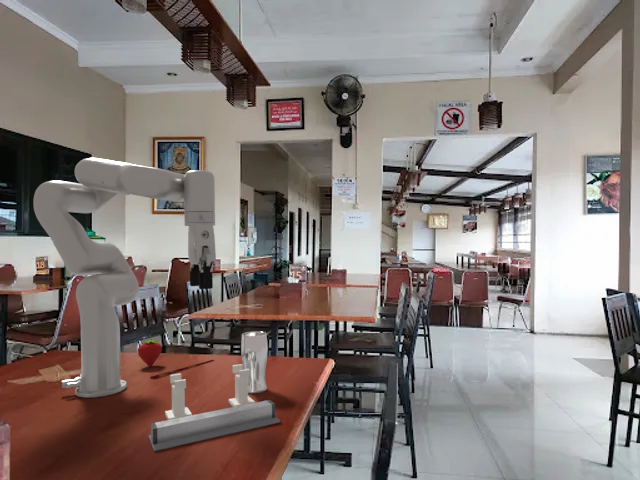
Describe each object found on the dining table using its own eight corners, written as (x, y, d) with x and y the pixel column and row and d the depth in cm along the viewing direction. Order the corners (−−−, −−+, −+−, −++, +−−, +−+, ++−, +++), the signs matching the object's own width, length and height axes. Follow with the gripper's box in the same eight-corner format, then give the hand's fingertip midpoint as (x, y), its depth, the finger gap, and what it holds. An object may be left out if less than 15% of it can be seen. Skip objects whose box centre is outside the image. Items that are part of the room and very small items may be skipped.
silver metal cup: (263, 394, 114) (262, 336, 114) (237, 393, 115) (236, 336, 115) (271, 386, 121) (270, 331, 121) (247, 385, 122) (246, 330, 122)
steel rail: (153, 444, 85) (153, 428, 85) (150, 438, 88) (150, 423, 88) (275, 417, 98) (275, 403, 98) (270, 412, 100) (269, 399, 100)
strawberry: (135, 366, 143) (134, 335, 144) (158, 362, 148) (157, 332, 148) (141, 370, 139) (140, 338, 139) (164, 365, 144) (164, 335, 144)
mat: (153, 451, 83) (153, 449, 83) (148, 437, 89) (148, 435, 89) (280, 422, 96) (280, 420, 96) (268, 411, 102) (268, 410, 102)
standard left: (169, 422, 97) (168, 382, 97) (164, 413, 102) (164, 375, 102) (192, 418, 99) (191, 378, 99) (186, 409, 104) (186, 372, 104)
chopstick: (215, 361, 149) (215, 359, 149) (154, 380, 129) (153, 377, 129) (211, 361, 150) (211, 358, 150) (149, 379, 130) (149, 376, 130)
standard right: (235, 409, 104) (234, 372, 104) (227, 401, 109) (227, 366, 109) (255, 405, 106) (254, 368, 106) (247, 398, 112) (246, 363, 112)
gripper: (224, 217, 106) (225, 289, 106) (206, 221, 121) (207, 284, 121) (192, 217, 102) (193, 291, 102) (177, 221, 117) (178, 285, 117)
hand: (200, 287), depth 111 cm, fingers open, 9 cm apart
